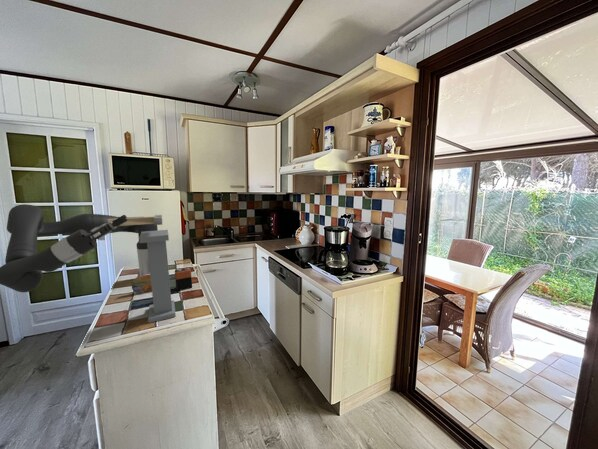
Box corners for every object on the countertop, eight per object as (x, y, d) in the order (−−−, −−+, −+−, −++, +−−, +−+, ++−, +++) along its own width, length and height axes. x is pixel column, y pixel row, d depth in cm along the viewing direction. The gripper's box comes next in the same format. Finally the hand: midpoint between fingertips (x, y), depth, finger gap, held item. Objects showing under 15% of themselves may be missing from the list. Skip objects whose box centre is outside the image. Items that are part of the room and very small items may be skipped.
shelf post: (149, 308, 103) (141, 231, 97) (174, 303, 107) (167, 229, 102) (148, 323, 92) (139, 237, 87) (175, 316, 96) (168, 235, 91)
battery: (175, 287, 123) (174, 268, 121) (190, 284, 127) (189, 265, 125) (177, 291, 119) (175, 270, 118) (192, 287, 123) (191, 268, 121)
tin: (132, 295, 115) (130, 278, 113) (132, 293, 117) (130, 276, 116) (169, 288, 123) (167, 271, 121) (168, 286, 125) (167, 269, 124)
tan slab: (111, 224, 92) (110, 217, 91) (162, 220, 99) (161, 214, 99) (106, 228, 83) (105, 221, 82) (162, 224, 90) (161, 217, 90)
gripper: (88, 250, 91) (135, 223, 97) (77, 260, 79) (131, 229, 84) (72, 233, 88) (121, 206, 94) (58, 241, 76) (115, 210, 82)
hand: (125, 217), depth 89 cm, fingers closed on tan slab, 2 cm apart
